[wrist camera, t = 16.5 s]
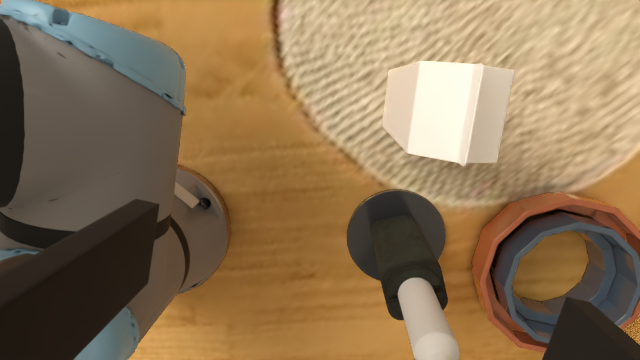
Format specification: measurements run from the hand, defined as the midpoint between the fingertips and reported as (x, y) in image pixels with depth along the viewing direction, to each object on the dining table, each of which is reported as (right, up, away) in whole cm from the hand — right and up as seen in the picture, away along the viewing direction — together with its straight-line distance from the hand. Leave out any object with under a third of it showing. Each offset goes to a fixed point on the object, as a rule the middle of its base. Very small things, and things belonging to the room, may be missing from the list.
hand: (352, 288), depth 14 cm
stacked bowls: (+24, -6, +36) cm, 44 cm away
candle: (+8, -3, +35) cm, 36 cm away
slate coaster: (+8, -3, +36) cm, 37 cm away
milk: (+9, +12, +33) cm, 36 cm away
